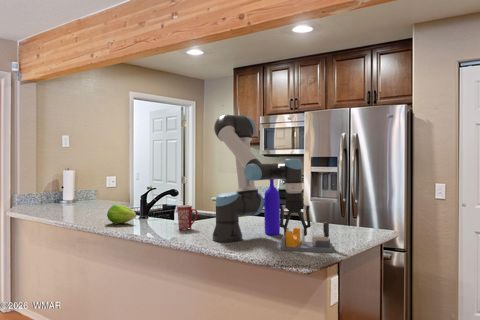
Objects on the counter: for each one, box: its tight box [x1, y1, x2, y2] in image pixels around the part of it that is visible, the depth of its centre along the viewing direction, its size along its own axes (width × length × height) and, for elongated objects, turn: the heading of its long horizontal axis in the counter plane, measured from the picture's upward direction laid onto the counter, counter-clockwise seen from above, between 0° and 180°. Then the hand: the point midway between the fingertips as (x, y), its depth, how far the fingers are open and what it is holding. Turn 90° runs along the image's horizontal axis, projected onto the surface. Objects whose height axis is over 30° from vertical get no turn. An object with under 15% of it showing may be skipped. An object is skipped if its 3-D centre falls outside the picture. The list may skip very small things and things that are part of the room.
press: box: [280, 234, 333, 254], centre depth 177 cm, size 22×13×6 cm, turn 76°
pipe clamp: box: [286, 227, 301, 247], centre depth 179 cm, size 12×4×6 cm, turn 152°
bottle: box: [263, 179, 281, 236], centre depth 211 cm, size 8×8×30 cm
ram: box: [311, 221, 330, 246], centre depth 176 cm, size 7×5×10 cm, turn 76°
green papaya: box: [106, 204, 137, 225], centre depth 249 cm, size 14×20×12 cm
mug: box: [176, 204, 199, 230], centre depth 228 cm, size 13×9×14 cm
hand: (295, 242), depth 178 cm, fingers open, 6 cm apart
